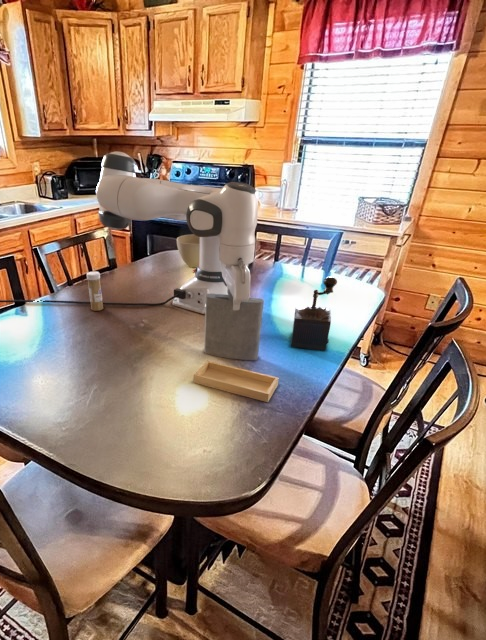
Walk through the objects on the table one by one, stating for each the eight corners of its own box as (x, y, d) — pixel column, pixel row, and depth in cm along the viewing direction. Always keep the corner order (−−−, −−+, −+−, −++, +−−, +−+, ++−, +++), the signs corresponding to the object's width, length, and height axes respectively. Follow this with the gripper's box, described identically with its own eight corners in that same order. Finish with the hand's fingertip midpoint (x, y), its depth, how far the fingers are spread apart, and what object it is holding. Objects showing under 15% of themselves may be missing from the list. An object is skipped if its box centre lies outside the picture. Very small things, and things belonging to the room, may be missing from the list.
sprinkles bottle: (102, 311, 151) (97, 275, 143) (89, 311, 151) (84, 274, 144) (104, 306, 154) (100, 271, 147) (92, 306, 155) (88, 270, 148)
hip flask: (258, 356, 121) (265, 290, 110) (256, 362, 117) (263, 295, 106) (206, 348, 125) (207, 284, 114) (202, 354, 122) (203, 289, 111)
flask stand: (193, 382, 109) (193, 374, 108) (207, 367, 115) (207, 360, 114) (267, 402, 101) (268, 394, 99) (277, 385, 107) (278, 377, 106)
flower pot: (174, 270, 191) (173, 243, 185) (180, 259, 206) (179, 233, 200) (213, 271, 188) (213, 244, 182) (216, 260, 203) (217, 234, 197)
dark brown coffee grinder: (328, 351, 122) (340, 293, 113) (289, 347, 125) (298, 289, 115) (327, 329, 135) (338, 275, 125) (292, 326, 138) (300, 272, 128)
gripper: (258, 265, 97) (253, 319, 104) (240, 243, 114) (237, 291, 122) (232, 266, 97) (228, 320, 104) (218, 244, 114) (216, 292, 121)
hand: (233, 304), depth 113 cm, fingers closed on hip flask, 5 cm apart
